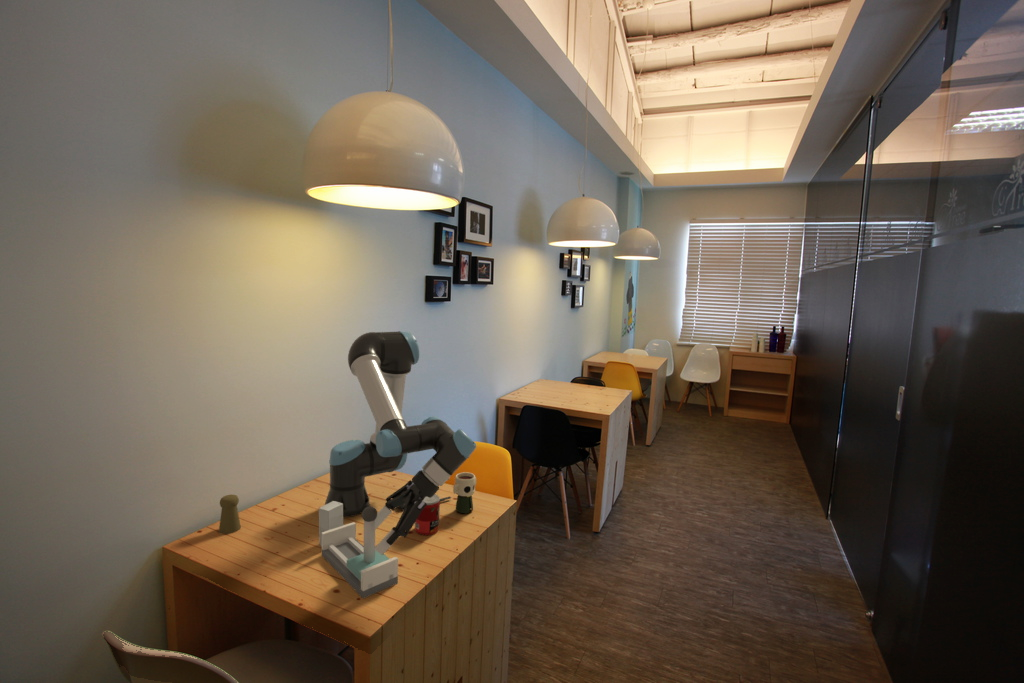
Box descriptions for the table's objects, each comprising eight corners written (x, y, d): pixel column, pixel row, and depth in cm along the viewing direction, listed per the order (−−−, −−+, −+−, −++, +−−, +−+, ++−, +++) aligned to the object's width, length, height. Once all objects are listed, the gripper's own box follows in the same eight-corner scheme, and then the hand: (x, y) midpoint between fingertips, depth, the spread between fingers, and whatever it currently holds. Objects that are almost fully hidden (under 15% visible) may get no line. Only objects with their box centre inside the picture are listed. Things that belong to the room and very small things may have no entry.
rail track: (321, 555, 140) (321, 532, 139) (353, 543, 146) (354, 522, 146) (362, 598, 121) (363, 572, 120) (397, 583, 128) (398, 558, 127)
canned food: (434, 537, 152) (434, 504, 151) (410, 533, 154) (411, 501, 153) (442, 526, 160) (443, 494, 158) (420, 522, 161) (420, 491, 160)
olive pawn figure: (216, 528, 152) (215, 495, 151) (237, 522, 156) (236, 490, 155) (222, 536, 148) (221, 502, 147) (243, 529, 152) (242, 496, 151)
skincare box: (333, 536, 150) (333, 500, 149) (343, 539, 148) (343, 503, 147) (318, 545, 145) (318, 507, 143) (328, 549, 143) (328, 511, 142)
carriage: (346, 566, 128) (346, 506, 127) (377, 554, 135) (377, 497, 133) (360, 580, 123) (360, 517, 121) (391, 567, 129) (392, 507, 127)
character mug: (460, 519, 165) (461, 483, 163) (446, 512, 169) (447, 477, 168) (481, 509, 173) (483, 474, 172) (468, 502, 178) (469, 469, 176)
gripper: (452, 505, 122) (392, 571, 118) (429, 469, 145) (378, 524, 140) (432, 488, 119) (370, 555, 115) (412, 454, 142) (359, 510, 138)
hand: (374, 538), depth 128 cm, fingers open, 13 cm apart
